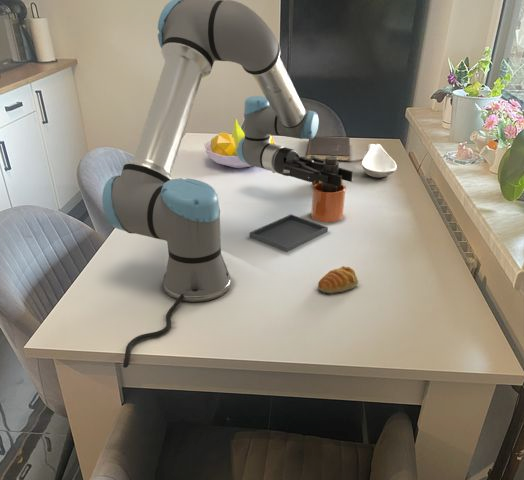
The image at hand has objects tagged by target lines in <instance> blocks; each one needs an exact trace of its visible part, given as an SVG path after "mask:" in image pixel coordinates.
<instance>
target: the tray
mask: <svg viewBox="0 0 524 480" xmlns="http://www.w3.org/2000/svg"><path fill="white" fill-rule="evenodd" d="M328 232H329V227H328V226H325V225H322V224H319V223H317V222H314V221H311V220H308V219H306V218H303V217H300V216H297V215H294V214H288V215H286V216H283V217H282V218H279V219H277V220H275V221H273V222H271V223H268V224H266V225H264V226H261V227H260V228H257V229H254V230H253V231H250V232H249V238H250V239H253V240H256V241H258V242H261V243H263V244H265V245H268V246H270V247H272V248H275V249H278V250H280V251H283V252H285V253H288V252H290V251H293V250H294V249H296V248H298V247H300V246H302V245H305V244H306V243H308V242H310V241H312V240H314V239H315V238H318V237H320V236H322V235H324V234H325V233H328Z"/></svg>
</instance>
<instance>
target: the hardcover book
mask: <svg viewBox="0 0 524 480" xmlns="http://www.w3.org/2000/svg"><path fill="white" fill-rule="evenodd" d="M311 156H315V157H317V158H319V159H323V160H326V157H328V156H334V157H337V162H343V163H349V162H350V157H351V139H350V137H340V136H316V135H315V137H314V138H313V139H308V142H307V148H306V153H305V158H307V159H310V158H311Z"/></svg>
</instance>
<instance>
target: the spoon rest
mask: <svg viewBox="0 0 524 480" xmlns="http://www.w3.org/2000/svg"><path fill="white" fill-rule="evenodd" d="M397 167H398V166H397V163H396V161H395V160H394V159H393V158H392V157H391V156H390V155H389V153H387V151H386V150H385V148H383V146H382V145H381V144H380V143H375V144H374V143H369V144H368V146H367V147H366V150H365V152H364V155H363V159H362V160H361V168H362V170H363V172H365V174H367V175H368V176H369V177H372V178H375V179H382V178H387V177H389V176H391V175H392V174H394V172H395V171H396V170H397Z"/></svg>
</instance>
